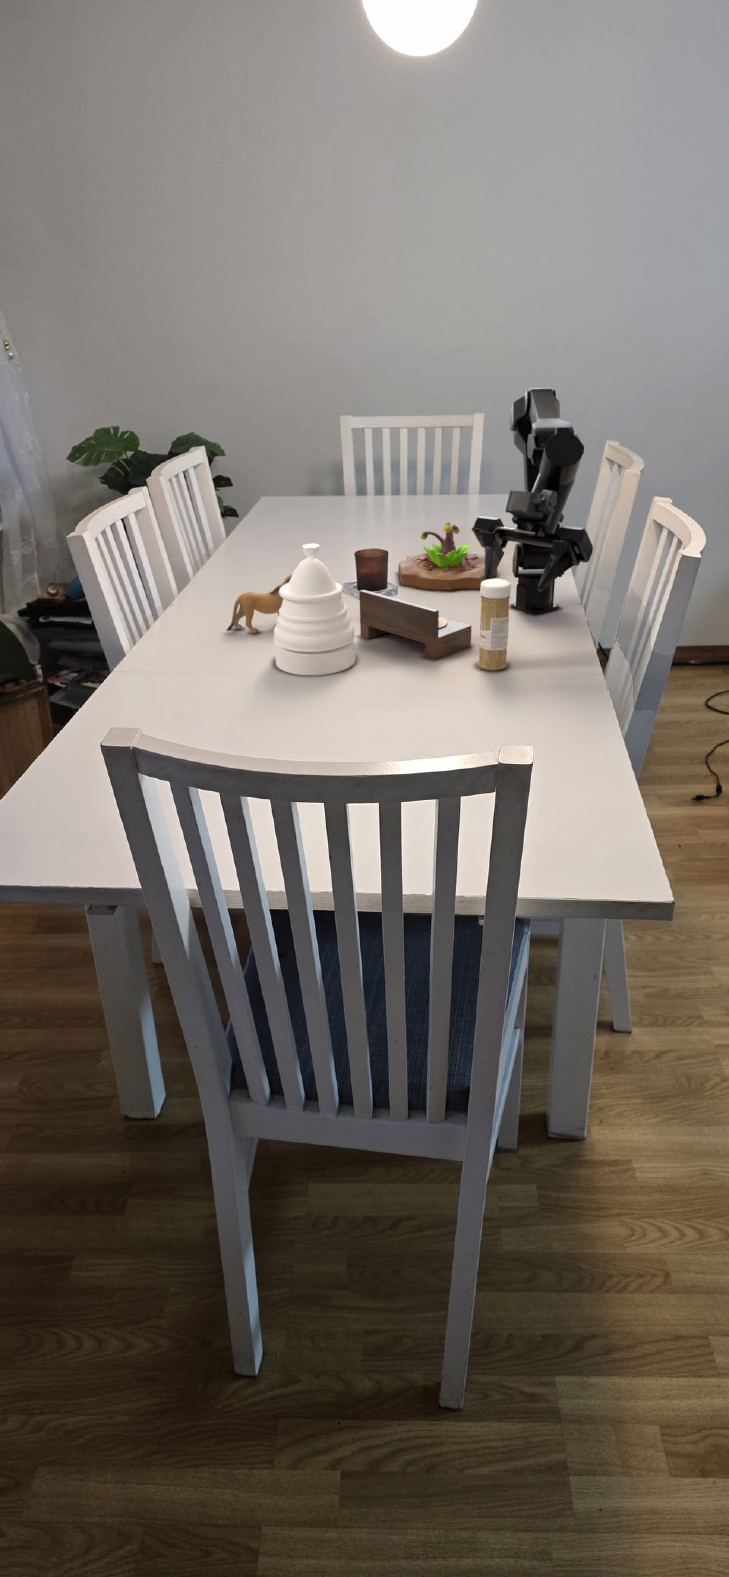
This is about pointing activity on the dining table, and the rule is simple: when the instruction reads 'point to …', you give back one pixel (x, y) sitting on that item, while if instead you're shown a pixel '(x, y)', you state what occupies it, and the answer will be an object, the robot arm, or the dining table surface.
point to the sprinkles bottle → (494, 623)
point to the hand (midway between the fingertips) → (512, 585)
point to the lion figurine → (256, 606)
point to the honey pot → (313, 622)
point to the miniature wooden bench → (412, 624)
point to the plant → (443, 565)
